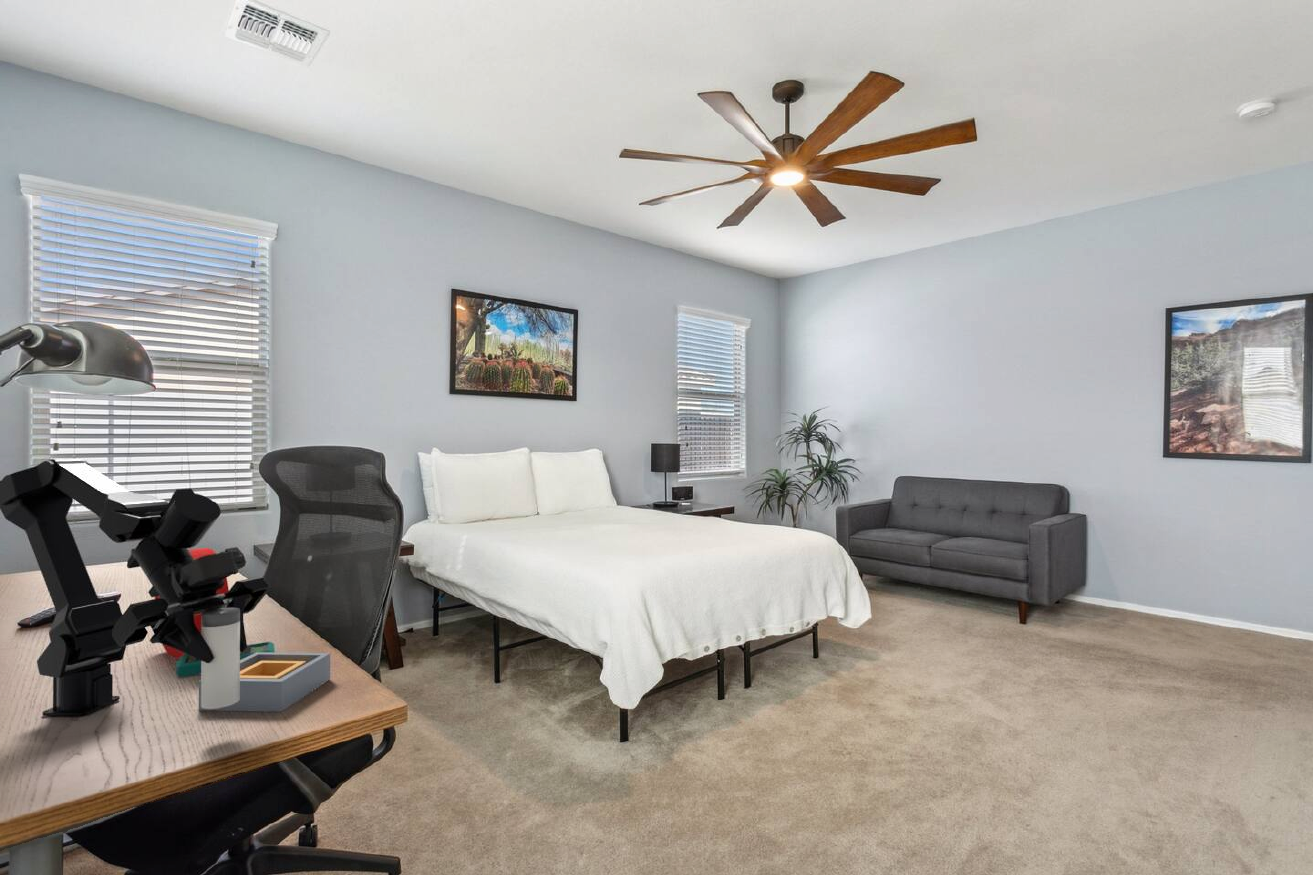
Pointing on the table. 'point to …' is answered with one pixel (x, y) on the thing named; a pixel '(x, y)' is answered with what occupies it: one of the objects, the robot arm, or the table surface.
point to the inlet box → (277, 680)
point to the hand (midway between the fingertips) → (228, 655)
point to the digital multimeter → (193, 665)
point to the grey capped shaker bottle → (221, 658)
